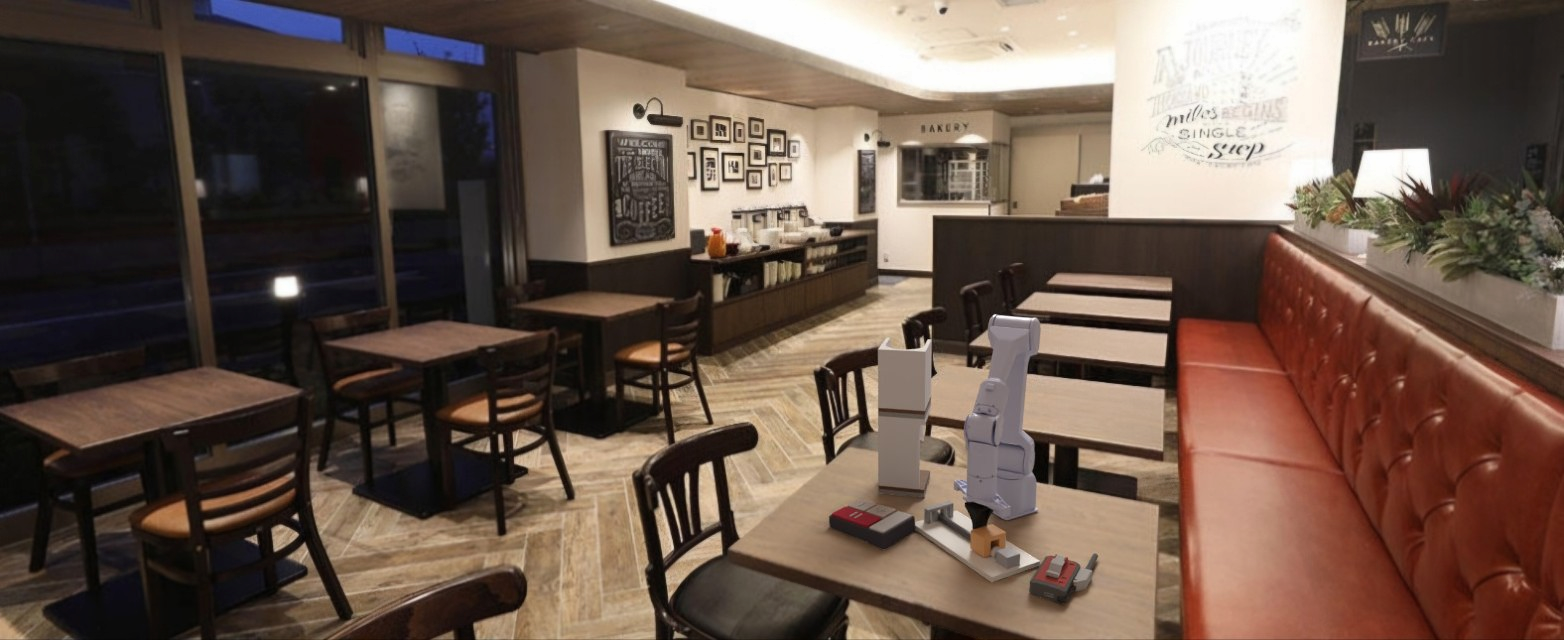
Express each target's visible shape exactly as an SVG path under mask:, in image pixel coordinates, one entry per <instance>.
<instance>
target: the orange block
mask: <svg viewBox="0 0 1564 640" xmlns="http://www.w3.org/2000/svg"><path fill="white" fill-rule="evenodd" d="M1006 535H1007V532H1006V531H1005V530H1003V529H1002V528H1000V527H998V526H996V525H995V524H993V523H991V524H987V526H984V527H980V528H977V529H974V530H971V543H970V548H971V549H972V550H974V551H975V552H977V553H978V554H980V555H981V556H983V557H986V556H989V555H990V550H991V546H993V547H994V546H998V547H999V548H1001V549H1004V548H1005V545H1006V541H1007V540H1006V539H1007V538H1006Z"/></svg>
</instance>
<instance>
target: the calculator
mask: <svg viewBox="0 0 1564 640" xmlns="http://www.w3.org/2000/svg"><path fill="white" fill-rule="evenodd" d="M828 520H829V521H828V523H829V528H830V529H833V530H834V531H838V532H840V533H842V534H844V535H846V536H849V537H852V538H854V539H858V540H860V541H863V542H866V543H867V544H868V545H871V546H873V547H875V548H878V549H880V550H883V551H885V550H887V549H889V548H891V547H892V546H894V545H896V544H898V543H899V542H901V541H903V540H904V539H906V538H908V537H909V536H910V535H913V533H916V530H915V522H916V517H915V516H914V515H913V514H910V513H907V512H904V511H900V510H897V509H896V508H893V507H891V506H886V505H883V504H877V502H873V501H871V500H867V499H864V498H858V499H856V500H855V501H853V502H851V503H849V504H847V506H843V507H842V508H841V507H840V509H837V510H836V511H833V512H832V513H831V514H830V515H829V516H828Z"/></svg>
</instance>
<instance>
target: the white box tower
mask: <svg viewBox="0 0 1564 640" xmlns="http://www.w3.org/2000/svg"><path fill="white" fill-rule="evenodd" d="M932 340H933V339H927V340H926V342H925V344H924V345H923V346H922V347H919V348H911V349H903V348H902V349H901V348H893V347H891V337H886V338H885V339H884V341H883V342H882V343H881V344H880V346H879V347H878V348H877V409H878V410H877V422H878V423H877V433H878V434H877V436H878V437H877V441H878V444H877V447H878V448H877V450H878V451H877V455H878V457H877V459H878V460H877V463H878V464H877V465H878V466H877V471H878V475H877V476H878V478H877V481H878V482H877V484H878V487H877V488H878V491H877V492H878V493H883V494H882V495H888V494H893V495H892V496H898V495H900V496H899V497H910V498H917V497H918V498H920V499H925V496H926V492H927V490H928V487H927V486H929V483H930V479H931V470H926V469H921V467H920V465H921V462H920V460H921V459H920V458H921V457H920V456H921V444H923V443H924V442H925V441H924V438H925V437H924V435H925V425H926V423H927V420H928V418H929V415H930V412H931V409H932V355H933V354H932V352H933V351H932V345H933V344H932ZM926 489H927V490H926Z"/></svg>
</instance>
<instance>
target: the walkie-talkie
mask: <svg viewBox="0 0 1564 640" xmlns="http://www.w3.org/2000/svg"><path fill="white" fill-rule="evenodd" d="M1098 558H1099V555H1098V553H1093V554H1092V556H1091V557H1090V559H1089V561H1088V563H1087V565H1086V567H1085V568H1084V567H1081V565H1080V563H1078V561H1073V560H1071V559H1069V557H1068V556H1065V555H1061V554H1057V553H1056V554H1055V555H1046V556H1045V557H1044V558H1043V561H1042V562H1040V566H1038V568H1037V570H1036V571H1035V573H1034V574H1033V576H1032V577H1031V579H1030V581H1029V592H1030V593H1029V594H1030V595H1031V596H1033V597H1035V598H1036V597H1037V598H1040V597H1041V598H1040V599H1043V598H1044V600H1047V601H1051V602H1053V603H1054V602H1055V603H1057V602H1058V604H1060V605H1064V604H1067V603H1068V601H1069V599H1070V597H1071V596H1072V593H1073V592H1079V591H1084V590H1086V589H1087V588H1088V586H1089V584H1090V582H1092V580H1093V569H1094V566H1095V565H1096V562H1097V560H1098Z"/></svg>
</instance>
